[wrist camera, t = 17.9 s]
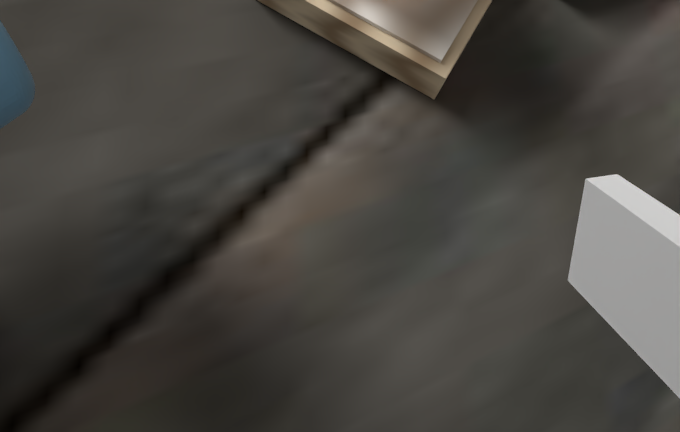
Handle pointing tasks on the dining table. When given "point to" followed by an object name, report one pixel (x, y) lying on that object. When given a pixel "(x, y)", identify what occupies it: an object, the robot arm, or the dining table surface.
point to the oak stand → (394, 33)
